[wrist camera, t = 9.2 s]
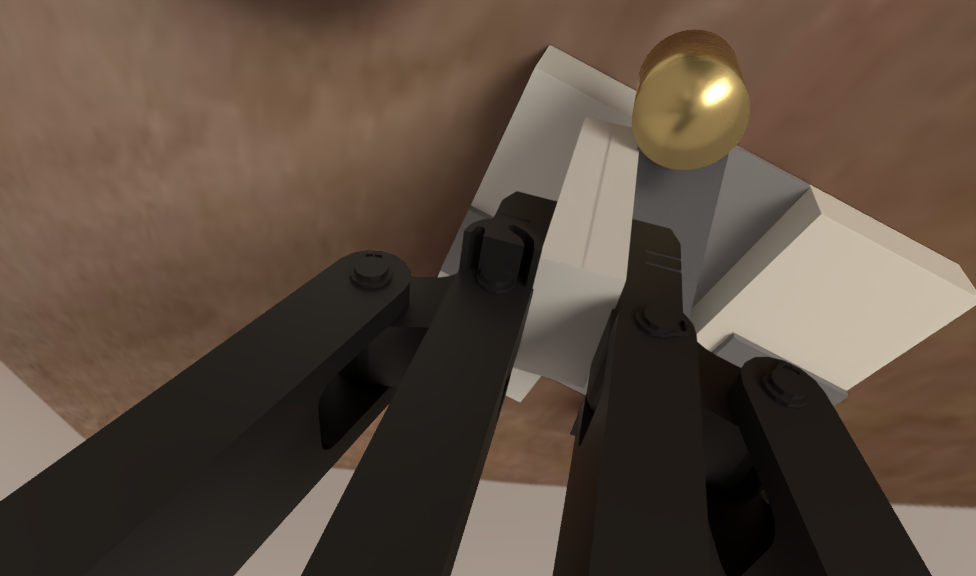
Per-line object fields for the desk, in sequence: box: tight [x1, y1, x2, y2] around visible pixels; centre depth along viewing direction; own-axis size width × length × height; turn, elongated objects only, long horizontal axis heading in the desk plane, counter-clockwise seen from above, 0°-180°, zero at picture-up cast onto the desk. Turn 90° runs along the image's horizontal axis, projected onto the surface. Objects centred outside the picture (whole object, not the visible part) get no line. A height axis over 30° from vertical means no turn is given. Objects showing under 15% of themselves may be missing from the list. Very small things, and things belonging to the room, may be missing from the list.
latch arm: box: [632, 30, 750, 318], centre depth 17 cm, size 12×2×6 cm, turn 2°
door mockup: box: [438, 45, 976, 406], centre depth 22 cm, size 16×14×3 cm
